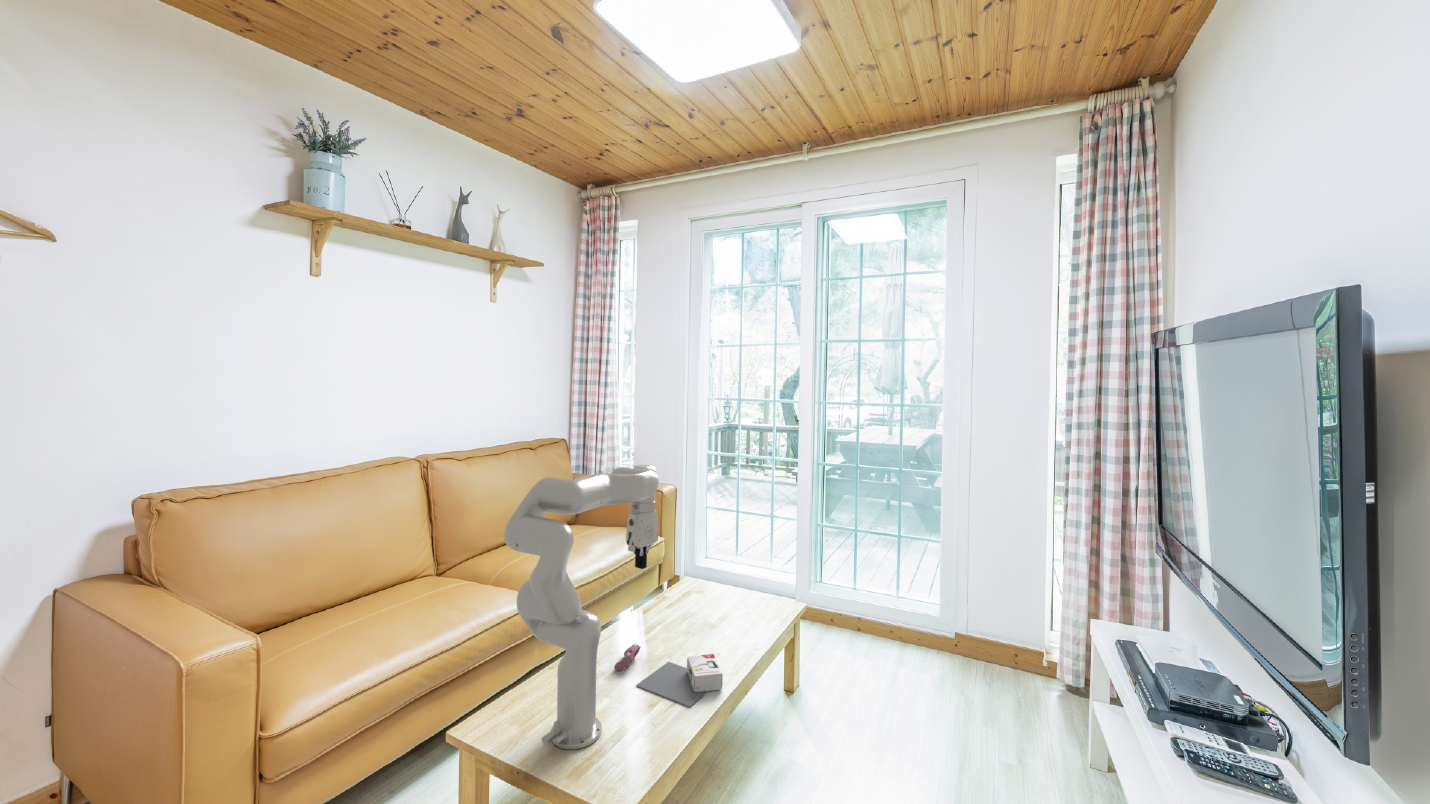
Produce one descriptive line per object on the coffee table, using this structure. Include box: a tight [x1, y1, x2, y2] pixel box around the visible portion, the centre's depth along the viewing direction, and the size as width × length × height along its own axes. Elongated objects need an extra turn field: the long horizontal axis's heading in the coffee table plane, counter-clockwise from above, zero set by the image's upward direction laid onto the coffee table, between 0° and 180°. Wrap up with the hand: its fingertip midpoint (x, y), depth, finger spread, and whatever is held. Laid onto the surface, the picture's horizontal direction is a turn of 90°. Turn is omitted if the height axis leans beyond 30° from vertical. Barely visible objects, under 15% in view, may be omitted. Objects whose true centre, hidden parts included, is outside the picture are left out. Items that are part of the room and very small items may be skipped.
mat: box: [635, 661, 709, 709], centre depth 164 cm, size 16×19×1 cm
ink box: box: [686, 653, 723, 692], centre depth 165 cm, size 9×5×12 cm
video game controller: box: [614, 643, 641, 672], centre depth 174 cm, size 10×5×7 cm, turn 169°
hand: (640, 567), depth 166 cm, fingers closed
